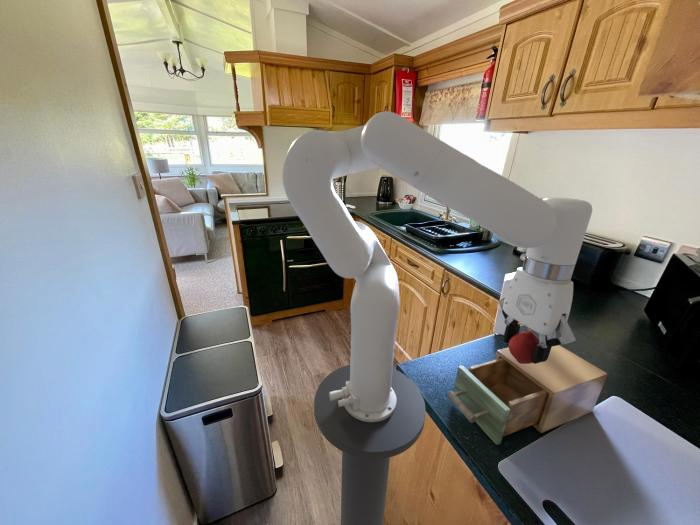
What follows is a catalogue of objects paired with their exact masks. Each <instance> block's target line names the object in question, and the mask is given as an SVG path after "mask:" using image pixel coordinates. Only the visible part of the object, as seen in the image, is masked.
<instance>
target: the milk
mask: <svg viewBox="0 0 700 525" xmlns="http://www.w3.org/2000/svg"><path fill="white" fill-rule="evenodd" d="M518 268H519V267H517V269H518ZM517 269H516V270H517ZM515 273H516V271H513V272H511V273H506V274H505V275H504V278H503V279H504V280H503V283H502V287H501V292H500V296H499V300H500V299H503V298H505V297H506V294H507V291H508V288H509V285H510V283H511V281H512V278H513V276H514V275H515ZM495 314H496V315H495V318H494V323H493V329H492V333H494V334H498V335H502V336H504V333H505V329H506V324H505V323H504V321H505V318H504V316H503V313H502V309H501V307H500V305H499V304H498V306H497V310H496V313H495Z"/></svg>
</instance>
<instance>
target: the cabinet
mask: <svg viewBox="0 0 700 525" xmlns="http://www.w3.org/2000/svg"><path fill="white" fill-rule="evenodd" d="M547 339H548V337H547ZM500 358H503V359H504V360H506V361H507V362H508V363H510V364H511V365H512V366H514V367H515V368H516V369H518V370H519V371H520V372H522V373H523V374H524V375H526V376H527V377H528V378H530V379H531V380H532V381H534V382H535V383H536V384H537V385H539V386H540V387H541V388H543V389H544V390H545V391H547V392H548V393H549V396H548V399H547V402H546V405H545V408H544V411H543V414H542V417H541V420H540V422H538V423H536V424H533V425H531V426H532V427H533V428H535V429H536V430H537V431H538V432H539V434H542V433H545V432H547V431H550V430H552V429H554V428H557V427H559V426H561V425H564V424H566V423H569V422H571V421H573V420H576V419H579V418H580V417H582V416H585V415H587V414H590V413H592V412H593V411H594V409H595V406H596V404H597V401H598V399H599V397H600V394H601V391H602V389H603V387H604V385H605V382H606V381H607V377H608V375H609V373H607V372H606V371H604V370H603V369H600V368H599V367H597V366H595V365H594V364H592V363H591V362H589V361H587V360H585V359H584V358H582V357H580V356H578V355H577V354H575V353H574V352H572V351H570V350H568V349H566V348H565V347H563V346H561V345H557V346H552V347H551V350H550V354H549V357H548V359H547V360H546V361H544V362H540V363H536V364H534V363H530V364H520V363H519V362H517V360H516V359H515V358H514V357H513V356H512V354H511V353H510V351H509V347H508V346H507V347H505V348H504V347H503V348H502V349H497V350H496V353H495V357H494V360H496V359H500Z"/></svg>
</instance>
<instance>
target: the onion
mask: <svg viewBox="0 0 700 525" xmlns="http://www.w3.org/2000/svg"><path fill="white" fill-rule="evenodd" d="M537 344H540V341H539V337H538V336H537V335H536V334H535V333H534V332H533V330H532V329H530V328H525V331H524V330H523V331H519V333H516V334H515V335H514V336H512V337H511V339H510V341H509V343H508V346H507V348H508V347H509V351H510V353H511V354H512V356H513V357H514V358H515V359H516V360H517V362H519V363H520V364H530V363H532V361H531V359H532V356H533V353H534V350H535V346H536V345H537Z"/></svg>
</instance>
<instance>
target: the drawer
mask: <svg viewBox="0 0 700 525" xmlns="http://www.w3.org/2000/svg"><path fill="white" fill-rule="evenodd" d="M456 370H457V371H456V375H455V382H454V386H453V390H450V391H448V392H447V394H446V395H447V398H448V399H449V401H451V403H453V405H454V406H455V407H456V408H457V409H458V410H459V412H461V414H462V415H463V416H464V417H465V418H466V419H467V420H468V422H469V423H471V424H474V423H476V425H477V426H478V427H479V428H480V429H481V430H482V431H483V432H484V434H486V436H488V438H489V439H490V440H491V441H492V442H493V443H494V444H495V445H496V446H498V445H501V444H502V442H503V438H504V437H506V436H509V435H511V434H513V433H516V432H518V431H521V430H523V429H526V428H528V427H530V426H532V425H533V424H536V423H538V422H540V420H541V417H542V414H543V411H544V408H545V405H546V402H547V399H548V396H549V393H548V392H547V391H545V390H544V389H543V388H541V387H540V386H539V385H537V384H536V383H535V382H534V381H532V380H531V379H530V378H528V377H527V376H526V375H524V374H523V373H522V372H520V371H519V370H518V369H516V368H515V367H514V366H512V365H511V364H510V363H508V362H507V361H506V360H504V359H503V358H500V359H496V360H495V359H493V360H489V361H485V362H482V363H479V364H475V365H471V366H469V370H468V369H467V368H466V366H464V365H461V364H460V365H458V366H457V369H456Z"/></svg>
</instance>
